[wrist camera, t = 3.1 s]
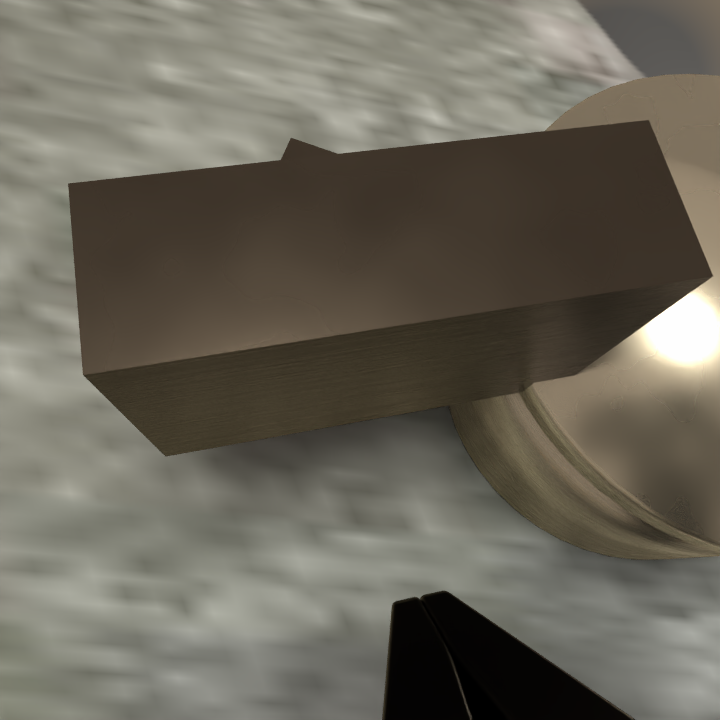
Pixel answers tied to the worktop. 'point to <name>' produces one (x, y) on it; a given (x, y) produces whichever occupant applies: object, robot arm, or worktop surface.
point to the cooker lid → (434, 292)
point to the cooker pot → (545, 472)
